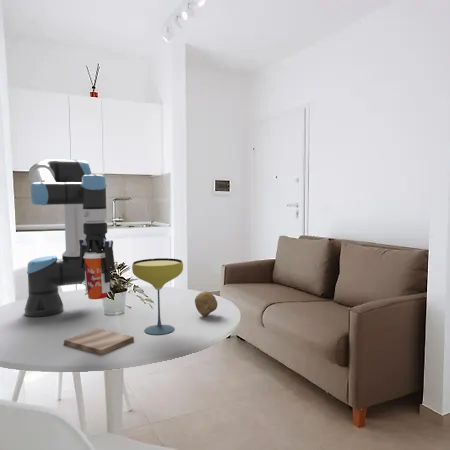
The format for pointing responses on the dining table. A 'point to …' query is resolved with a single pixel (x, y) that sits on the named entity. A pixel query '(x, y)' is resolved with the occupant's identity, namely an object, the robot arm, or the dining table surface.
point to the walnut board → (99, 341)
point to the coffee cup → (94, 275)
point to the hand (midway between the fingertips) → (97, 290)
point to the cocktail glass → (158, 282)
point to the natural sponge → (205, 303)
